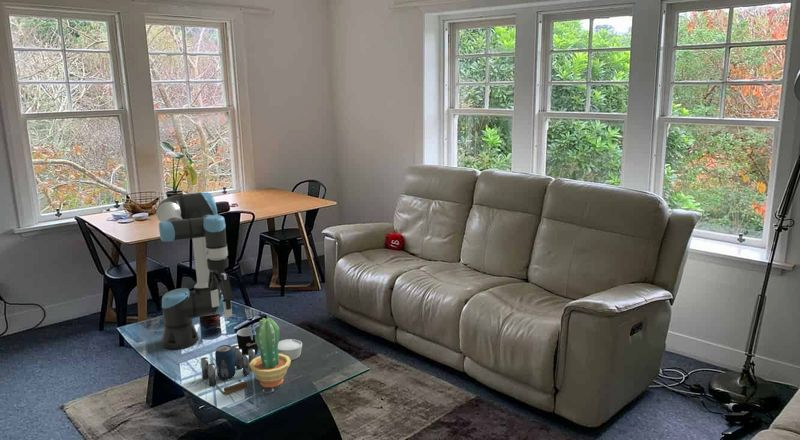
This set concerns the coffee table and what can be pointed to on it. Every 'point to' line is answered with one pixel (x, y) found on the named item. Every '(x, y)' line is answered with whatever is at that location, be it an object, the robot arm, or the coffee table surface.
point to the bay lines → (219, 389)
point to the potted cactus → (268, 354)
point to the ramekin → (290, 348)
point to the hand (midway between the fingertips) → (222, 311)
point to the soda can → (225, 362)
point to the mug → (246, 341)
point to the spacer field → (240, 363)
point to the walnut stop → (235, 388)
